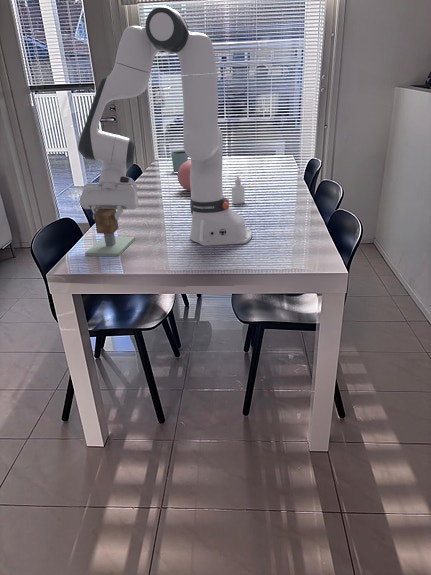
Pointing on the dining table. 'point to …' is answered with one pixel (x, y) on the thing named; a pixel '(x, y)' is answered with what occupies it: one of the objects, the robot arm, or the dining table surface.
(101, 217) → the walnut cap
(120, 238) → the post board
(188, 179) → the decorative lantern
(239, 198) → the eye dropper bottle
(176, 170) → the drinking glass
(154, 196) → the dining table surface
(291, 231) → the dining table surface
